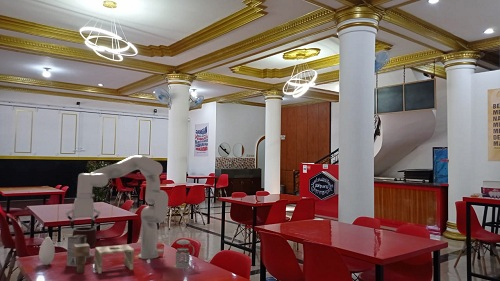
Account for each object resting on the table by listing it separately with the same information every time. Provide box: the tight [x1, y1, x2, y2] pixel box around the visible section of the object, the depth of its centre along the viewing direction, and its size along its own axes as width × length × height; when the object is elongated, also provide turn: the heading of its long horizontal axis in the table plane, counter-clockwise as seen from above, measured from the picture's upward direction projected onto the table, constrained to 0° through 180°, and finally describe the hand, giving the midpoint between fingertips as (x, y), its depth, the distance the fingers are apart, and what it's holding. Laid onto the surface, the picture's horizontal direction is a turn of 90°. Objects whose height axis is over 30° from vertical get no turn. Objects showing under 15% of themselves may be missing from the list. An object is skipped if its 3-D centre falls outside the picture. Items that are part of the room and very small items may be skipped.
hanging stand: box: [93, 244, 135, 274], centre depth 213 cm, size 18×14×11 cm
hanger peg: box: [73, 244, 91, 274], centre depth 205 cm, size 7×7×14 cm
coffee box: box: [66, 235, 87, 267], centre depth 220 cm, size 9×6×16 cm
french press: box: [173, 222, 195, 269], centre depth 223 cm, size 10×12×25 cm
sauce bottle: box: [38, 233, 56, 266], centre depth 218 cm, size 8×8×18 cm
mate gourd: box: [72, 223, 100, 259], centre depth 239 cm, size 16×14×20 cm
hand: (82, 227), depth 206 cm, fingers open, 9 cm apart
